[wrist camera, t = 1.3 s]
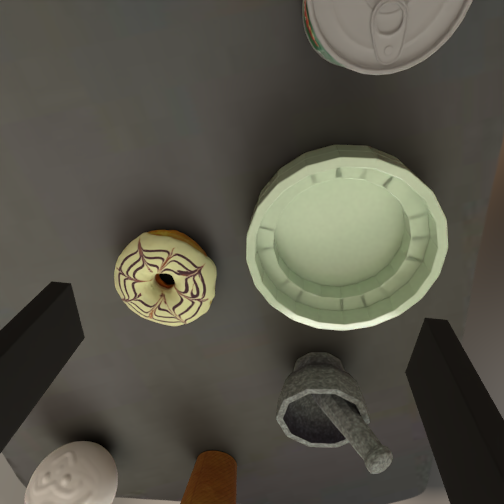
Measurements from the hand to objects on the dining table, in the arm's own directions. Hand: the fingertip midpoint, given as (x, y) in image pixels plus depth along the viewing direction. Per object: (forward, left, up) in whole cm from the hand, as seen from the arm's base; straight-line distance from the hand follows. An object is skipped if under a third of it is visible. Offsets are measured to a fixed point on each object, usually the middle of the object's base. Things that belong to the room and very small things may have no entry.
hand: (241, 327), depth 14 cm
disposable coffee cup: (+47, -6, -22) cm, 52 cm away
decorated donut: (+12, -10, -22) cm, 27 cm away
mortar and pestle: (+25, +8, -22) cm, 34 cm away
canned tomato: (-12, +6, -22) cm, 26 cm away
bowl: (+6, +7, -22) cm, 24 cm away
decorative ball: (+47, -26, -22) cm, 58 cm away
